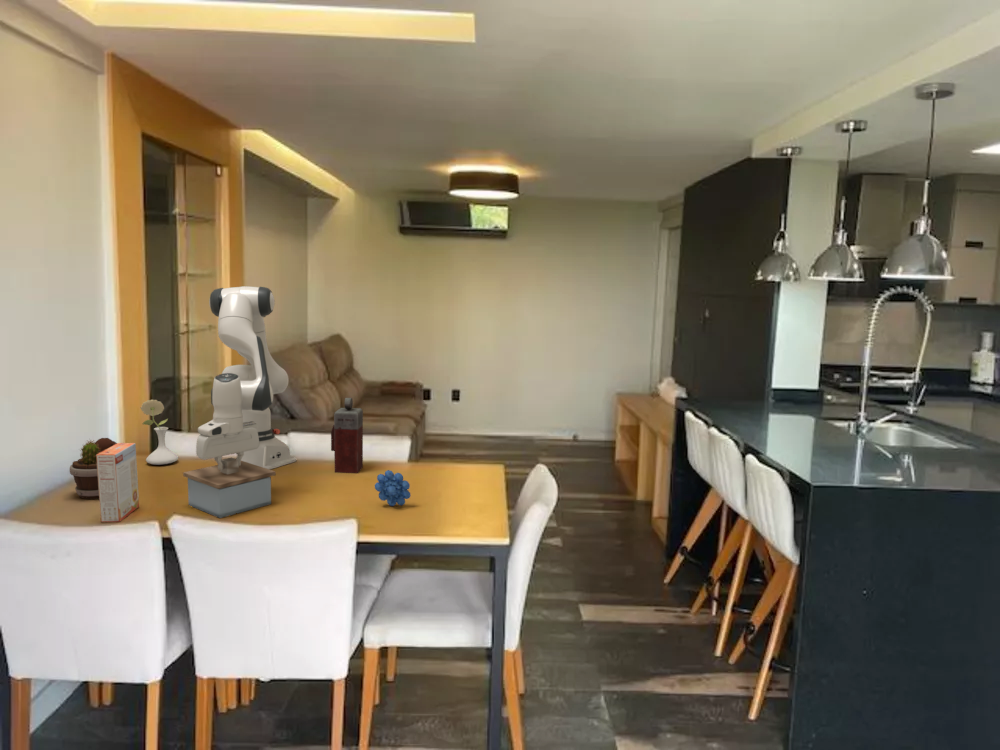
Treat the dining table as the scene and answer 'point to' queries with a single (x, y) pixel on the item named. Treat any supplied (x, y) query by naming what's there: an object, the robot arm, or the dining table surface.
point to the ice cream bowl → (104, 444)
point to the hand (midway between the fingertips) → (229, 467)
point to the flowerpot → (86, 472)
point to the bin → (229, 497)
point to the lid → (228, 473)
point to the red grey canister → (348, 438)
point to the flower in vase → (162, 452)
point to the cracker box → (117, 482)
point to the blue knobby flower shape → (392, 488)
